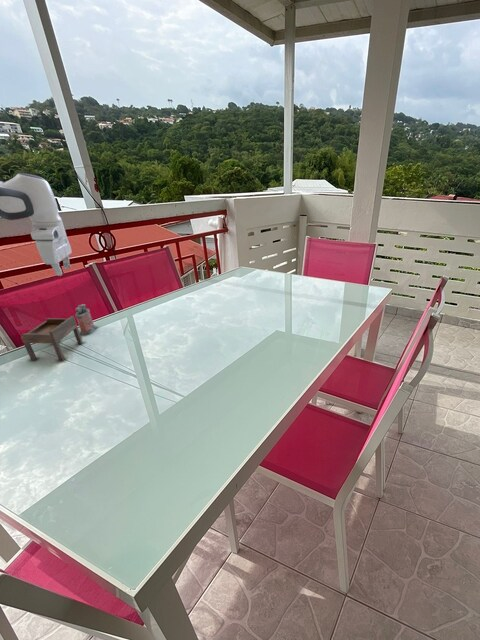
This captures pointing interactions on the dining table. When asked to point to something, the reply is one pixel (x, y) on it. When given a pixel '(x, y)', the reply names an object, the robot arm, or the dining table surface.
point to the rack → (51, 334)
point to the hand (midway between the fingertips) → (64, 271)
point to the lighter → (84, 319)
